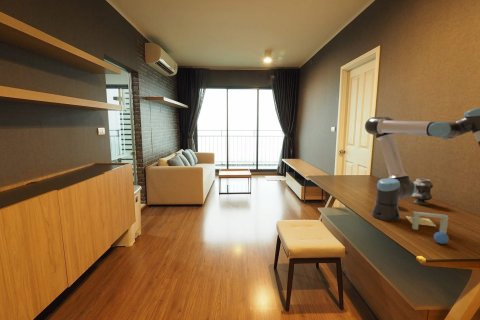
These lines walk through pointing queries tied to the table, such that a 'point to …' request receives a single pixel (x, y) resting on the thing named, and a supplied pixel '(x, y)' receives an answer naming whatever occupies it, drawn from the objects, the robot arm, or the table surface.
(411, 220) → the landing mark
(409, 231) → the table surface
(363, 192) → the table surface
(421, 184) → the apothecary jar
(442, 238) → the ball
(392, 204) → the robot arm
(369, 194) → the table surface
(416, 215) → the bridge
